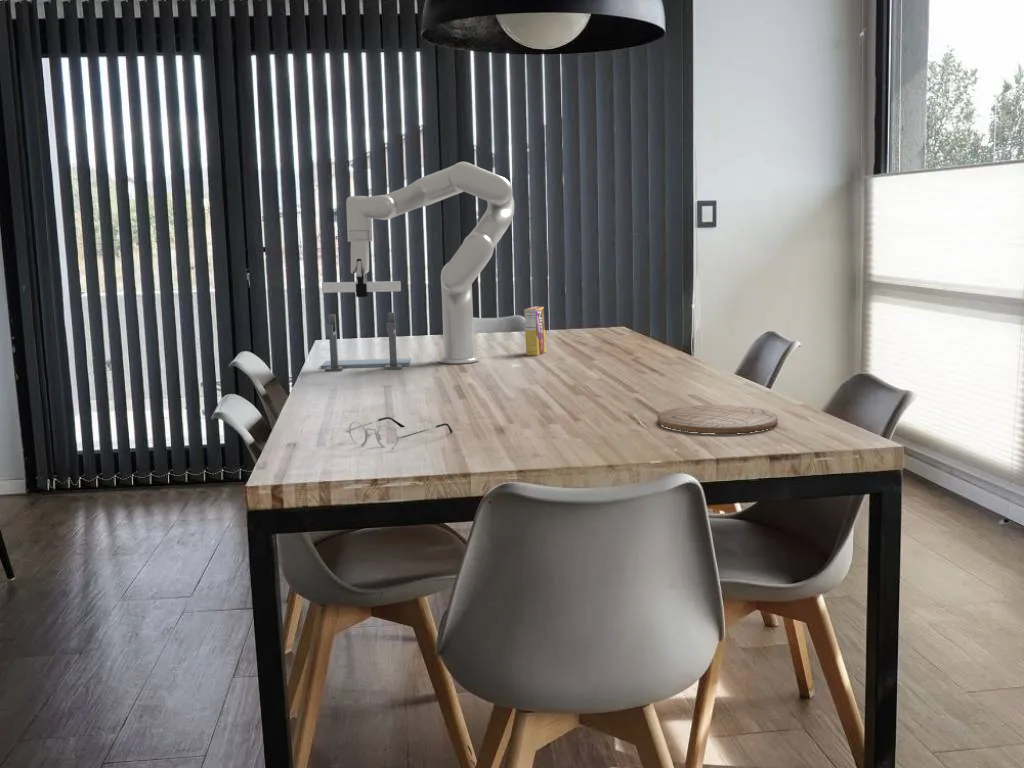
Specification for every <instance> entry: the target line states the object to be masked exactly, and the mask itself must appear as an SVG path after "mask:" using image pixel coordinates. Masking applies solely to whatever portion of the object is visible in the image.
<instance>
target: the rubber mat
mask: <svg viewBox="0 0 1024 768" xmlns="http://www.w3.org/2000/svg"><path fill="white" fill-rule="evenodd" d="M411 362H412V358H411V357H401V358H398V357H397V364H402V367H409V366H410V365H411ZM386 364H390V358H372V359H370V358H369V359H345V360H344V359H341V360H340V359H338V366H344V369H357V368H358V369H359V368H385V365H386ZM327 366H331V360H325V361H324V362H323V363H322V364H321V366H320V368H321V370H325V368H326V367H327Z"/></svg>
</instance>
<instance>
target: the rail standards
mask: <svg viewBox="0 0 1024 768" xmlns="http://www.w3.org/2000/svg"><path fill="white" fill-rule="evenodd" d="M327 318H328V319H327V321H328V322H327V323H328V324H325V335H326V337H328V339H329V355H330V356H329V357H330V361H331V366H327V367H326V368H325V369H324V372H326V373H327V372H329V373H330V372H333V373H334V372H342V371H343V370H345V368H344V366H338V360H339V355H338V352H339V351H338V350H339V349H338V333H337V319H336V318H337V317H336V313H335V314H328V315H327ZM396 328H397V327H396V312H388V313H387V322H386V334H387V335H388V347H389V359H390V364H386V365H385V367H384V370H385V371H387V370H392V371H393V370H402V368H403V366H402V364H397V358H398V355H397V353H398V352H397V351H398V350H397V333H396V332H397V331H396Z"/></svg>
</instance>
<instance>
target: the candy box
mask: <svg viewBox="0 0 1024 768" xmlns="http://www.w3.org/2000/svg"><path fill="white" fill-rule="evenodd" d="M523 311H524V313H523V314H524V331H525V333H524V334H525V354H526V356H527V357H529V356H530V357H532V356H533V357H534V356H540V355H542V354H545V353H546V352H547V348H546V347H547V344H546V343H547V342H546V330H545V329H546V327H545V326H546V325H545V307H544V306H532V307H528V308H525V309H524V310H523Z"/></svg>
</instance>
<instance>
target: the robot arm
mask: <svg viewBox="0 0 1024 768" xmlns="http://www.w3.org/2000/svg"><path fill="white" fill-rule="evenodd" d="M464 192H465V193H467V194H469V195H472V196H474V197H476V198H478V199H481V200H483V201H486V202H487V208H486V210H485V212H484V214H482V216H481V218H480V220H479V221H478V223H477V224H476V225H475V227H474V228H473V229H472V231H471V232H470V233H469V234H468V235H467V236H466V237H464V240H463V241H462V244H460V246H459V248H458V249H457V250H456V252H455V253H454V255H452V257H451V259H450V260H449V261H448V262H447V263H445V265H444V266H443V268H442V269H441V270H440V271H441V272H440V285H441V287H440V288H441V289H440V290H441V307H442V308H441V309H442V311H441V312H442V313H441V315H442V337H443V356H442V357H439V360H438V361H439V362H440V363H441V364H442V363H443V364H452V365H453V364H454V365H455V364H468V363H469V364H470V363H471V364H472V363H477V362H479V361H480V356H478V355H475V344H474V343H475V340H474V339H475V338H474V313H473V312H474V310H473V309H474V306H473V286H472V285H473V283H474V281H475V280H476V279H477V277H478V276H479V275H480V274H481V272H482V271H483V270H484V268H485V267H486V266H487V264H488V262H490V260H491V258H492V256H493V254H494V249H495V247H496V246H497V245H498V243H499V241H501V239H502V237H503V235H504V234H505V233H506V231H507V230H508V228H509V227H510V225H511V223H512V221H513V218H514V216H515V199H514V196H513V187H512V184H511V182H510V181H509V180H508V179H507V178H506V177H504V176H501V175H499V174H497V173H494V172H492V171H490V170H487V169H485V168H481V167H479V166H477V165H474V164H472V163H470V162H467V161H459V162H457V163H455V164H454V165H451V166H449V167H446V168H443V169H441V170H439V171H438V170H437V171H435V172H433V173H431V174H428V175H425V176H422V177H421V178H420V177H419V178H418V179H417V180H416V179H415V181H413V182H412V183H410V184H409V185H406V186H404V187H402V188H399V189H397V190H394V191H391V192H389V193H386V194H380V195H379V194H378V195H372V196H367V195H350V196H348V197H347V198H346V201H345V203H346V207H345V208H346V225H347V226H346V229H347V242H349V243H350V273H351V274H355V282H356V292H355V293H356V294H355V296H356V297H357V298H366V297H368V296H369V292H367V286H366V284H365V282H368V275H367V274H368V273H369V272H370V243H369V242H373V222H372V220H373V219H375V220H380V221H387V220H390V219H393V218H396V217H398V216H400V215H403V214H407V213H408V212H410V211H413V210H416V209H419V208H423V207H427V206H430V205H432V204H436V203H437V202H441V201H443V200H446V199H447V198H450V197H453V196H456V195H458V194H461V193H464Z"/></svg>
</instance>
